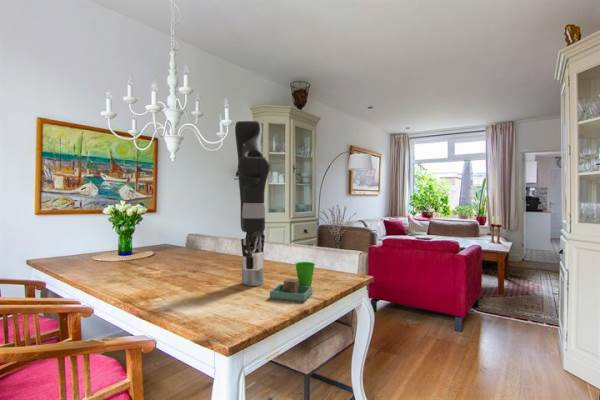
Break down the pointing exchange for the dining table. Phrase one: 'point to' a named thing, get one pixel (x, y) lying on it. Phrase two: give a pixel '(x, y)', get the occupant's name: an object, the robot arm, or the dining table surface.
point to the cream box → (255, 262)
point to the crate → (291, 294)
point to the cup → (305, 273)
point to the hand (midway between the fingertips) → (253, 266)
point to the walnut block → (291, 285)
